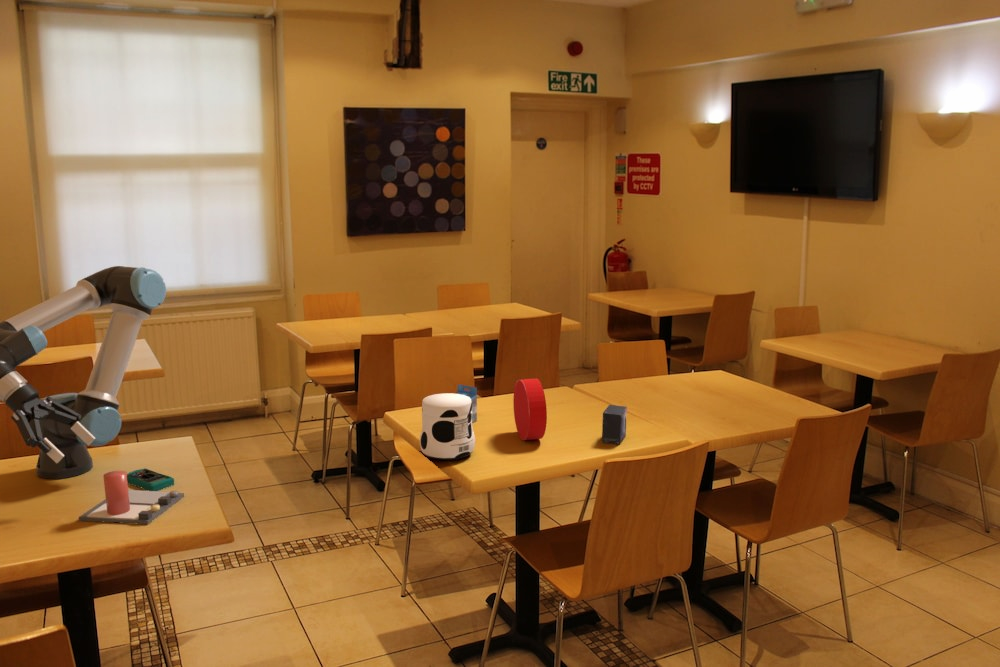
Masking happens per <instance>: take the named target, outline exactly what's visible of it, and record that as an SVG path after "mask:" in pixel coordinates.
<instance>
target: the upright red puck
mask: <svg viewBox="0 0 1000 667" xmlns="http://www.w3.org/2000/svg"><path fill="white" fill-rule="evenodd" d="M513 389H514V390H513V399H512V400H513V415H514V423H515V427H516V432H517V434H518V437H519V438H520V440H522V441H528V440H529V441H530V440H541V439H543V438H544V436H545V434H546V429H547V423H548V422H547V420H548V415H547V414H548V413H547V409H548V408H547V403H546V402H547V401H546V394H545V391H544V387H543V385H542V382H541V381H540V379H539V378H525V379H518V380H516V382H515V384H514V388H513Z"/></svg>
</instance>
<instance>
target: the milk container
mask: <svg viewBox="0 0 1000 667" xmlns="http://www.w3.org/2000/svg"><path fill="white" fill-rule="evenodd" d="M421 421H422V422H421V423H422V426H421V431H420V436H419V445H420V450H421V453H422V454H423V455H424V456H426V457H427V458H430V459H434V460H440V461H441V460H442V461H449V460H450V461H452V460H460V459H462V458H466V457H468V456H469V455H471V454H472V453H473V452H474V450H475V445H476V436H475V433H474V427H473V423H472V402H471V399H470V397H468V396H466V395H462V394H455V393H453V392H451V393H449V392H448V393H447V392H446V393H443V392H442V393H435V394H431V395H428V396H426V397H424V398H423V399H422V402H421Z"/></svg>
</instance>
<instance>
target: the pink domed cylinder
mask: <svg viewBox="0 0 1000 667" xmlns="http://www.w3.org/2000/svg"><path fill="white" fill-rule="evenodd" d="M127 474H128V473H127V472H126V471H124V470H112V471H109V472H106V473H104V474H103V476H102V477H103V486H104V487H103V488H104V494H105V495H104V496H105V499H106V505H107V513H108V514H110V515H118V514H123V513H126V512H128V511H129V510H130V503H129V493H128V490H129V486H128V485H129V484H128V483H127Z"/></svg>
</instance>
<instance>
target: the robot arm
mask: <svg viewBox="0 0 1000 667" xmlns="http://www.w3.org/2000/svg"><path fill="white" fill-rule="evenodd" d="M166 296H167V287H166V283H165V282H164V278H163V277H162V275H161V274H160V273H159V272H157V271H156V270H153V269H150V268H146V267H143V266H142V267H136V266H135V267H133V266H123V265H122V266H120V265H116V266H109V267H108V268H107V267H106V268H104V269H101V270H99V271H96V272H94V273H93V274H90V275H88V276H87V277H86V276H85V277H84V278H81V279H80V280H78V281H77V282H76V284H75V286H74V287H71V288H69V289H67V290H65V291H63V292H61V293H59V294H57V295H55V296H53V297H51V298H48V299H47V300H45V301H43V302H41V303H39V304H36V305H34V306H32V307H30V308H28V309H26V310H24V311H22V312H20V313H18V314H16V315H14V316H12V317H10V318H8V319H6V320H3V321H1V322H0V401H1V402H3V403H5V404H4V405H5V406H6V407H8V409H10V411H11V412H13V413H12V415H11V416H10V418H11V419H12V421H14V423H15V424H16V426H17V428H18V430H19V432H20V435H21V437H22V440H23V441H24V444H25V445H26V446H27V447H31V448H36V447H38V448H39V449H40V451H39V455H38V457H37V458H38V459H37V461H36V468H35V469H36V476H37V477H39V478H41V479H47V480H48V479H50V480H55V479H66V478H72V477H76V476H80V475H81V474H85V473H87V472H89V471H90V469H91V468H92V469H93V466H94V465H93V458H92V456H91V454H90V452H89V450H88V448H87V446H89V447H90V446H91V447H100V446H105V445H107V444H109V443H110V442H112V441H113V440H114V439H115V438H116V437H117V436H118V435H119V433H120V430H121V428H122V419H121V414H120V413H119V411H118V410H119V408H120V402H119V401H118V399H117V396H118V393H119V390H120V387H121V385H122V382H123V379H124V375H125V373H126V370H127V367H128V364H129V361H130V358H131V355H132V352H133V349H134V347H135V344H136V341H137V338H138V335H139V333H140V330H141V326H142V324H143V322H144V321H145V320H147V319H149V318H150V317H151V314H152V312H153V309H156V308H158V307H159V306H161V305H162V304H163V303H164V301H165V299H166ZM108 305H109V307H110V309H111V311H112V313H111V317H110V320H109V322H108V325H107V328H106V330H105V333H104V336H103V339H102V342H101V345H100V347H99V350H98V353H97V356H96V358H95V361H94V365H93V367H92V369H91V372H90V375H89V378H88V381H87V384H86V386H85V389H83V390H82V391H80V392H78V393H77V392H65V393H59V394H54V395H50V396H49V395H48V396H46V397H42V398H40V397H39V395H40V393H39V391H38V390H37V389H36V388H34V386H33V385H32V384H30V383H29V384H28V380H27V379H25V378H24V376H22V375H21V374H20V373H19V372H18V371H17V370H16V368H17V367H18V366H20V365H21V364H23V363H25V362H26V361H28V360H30V359H31V358H33V357H35V356H37V355H38V354H40V353H41V352H42V351H43V350H45V349H46V348H47V346H48V340H47V338H46V335H45V334H44V332H46V331H49V330H50V329H52V328H53V327H55V326H58V325H59V324H61V323H64V322H66V321H67V320H69V319H72V318H73V317H76V316H78V315H80V314H81V313H84V312H85V311H88V310H89V309H91V310H96V309H98V308H101V307H103V306H108ZM92 469H91V470H92Z"/></svg>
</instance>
